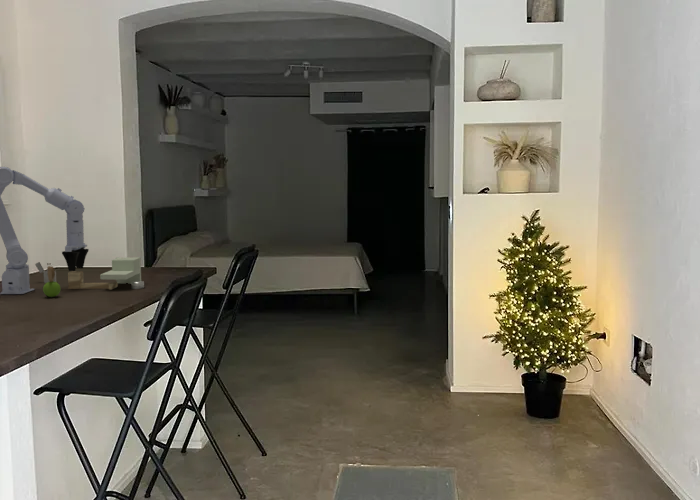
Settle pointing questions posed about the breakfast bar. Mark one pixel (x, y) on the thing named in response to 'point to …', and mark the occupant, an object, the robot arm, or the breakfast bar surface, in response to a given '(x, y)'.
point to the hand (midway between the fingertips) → (76, 269)
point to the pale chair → (124, 270)
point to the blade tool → (77, 283)
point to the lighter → (44, 272)
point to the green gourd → (51, 284)
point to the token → (137, 284)
